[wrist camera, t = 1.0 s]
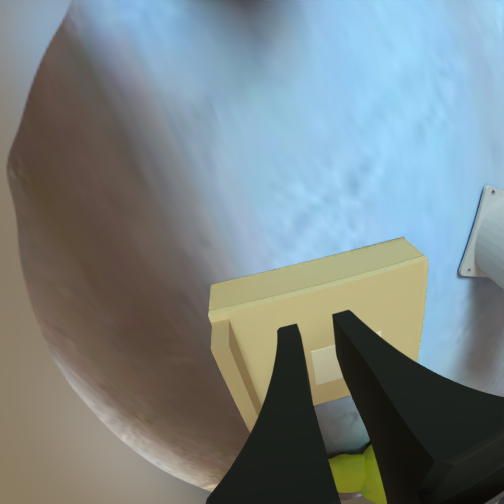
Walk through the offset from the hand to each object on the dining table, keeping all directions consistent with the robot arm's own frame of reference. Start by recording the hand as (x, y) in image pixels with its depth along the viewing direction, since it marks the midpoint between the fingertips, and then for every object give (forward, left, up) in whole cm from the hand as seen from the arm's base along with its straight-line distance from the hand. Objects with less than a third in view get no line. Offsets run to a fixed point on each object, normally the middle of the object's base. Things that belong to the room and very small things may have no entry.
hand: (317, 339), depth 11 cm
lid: (-4, +7, -7) cm, 11 cm away
